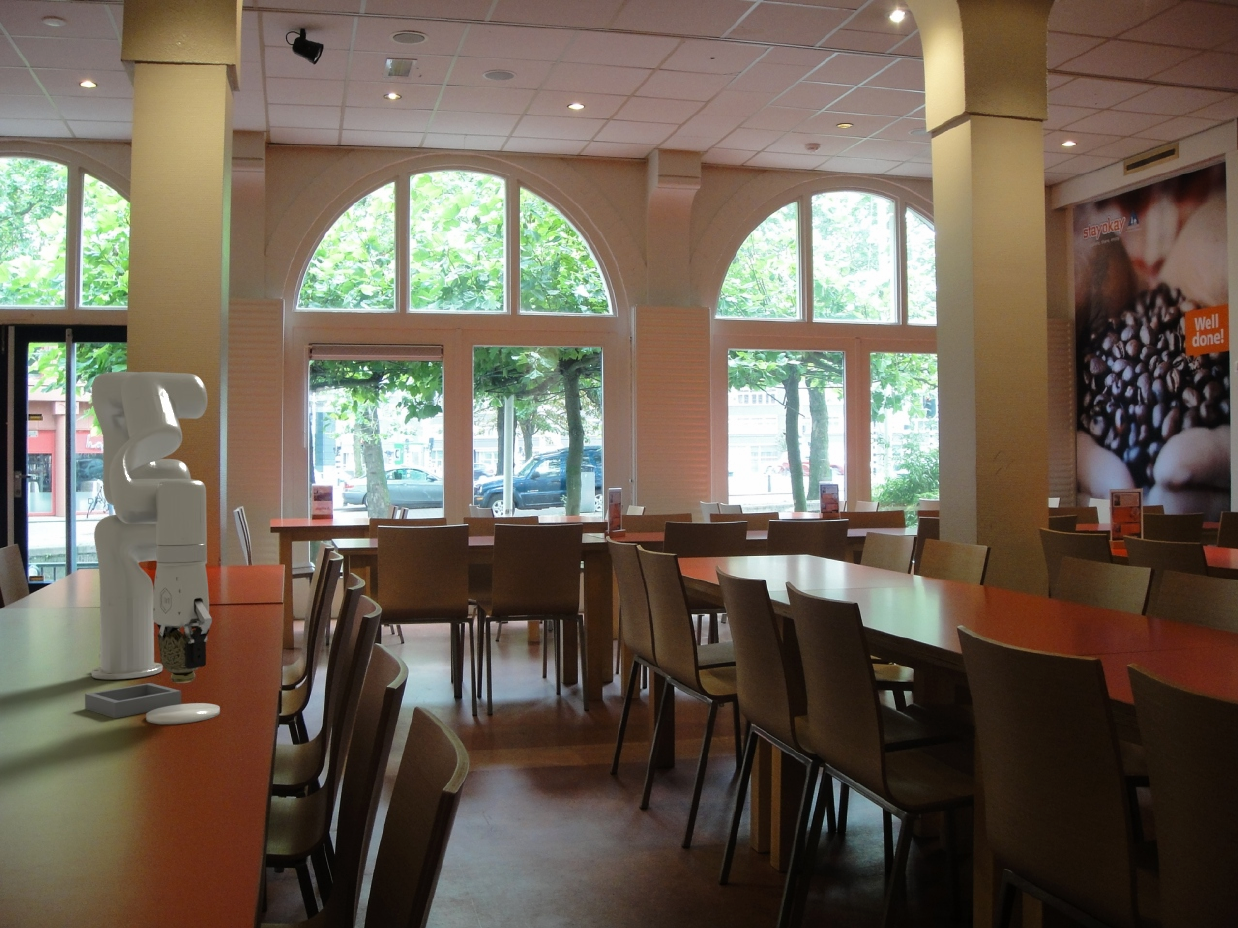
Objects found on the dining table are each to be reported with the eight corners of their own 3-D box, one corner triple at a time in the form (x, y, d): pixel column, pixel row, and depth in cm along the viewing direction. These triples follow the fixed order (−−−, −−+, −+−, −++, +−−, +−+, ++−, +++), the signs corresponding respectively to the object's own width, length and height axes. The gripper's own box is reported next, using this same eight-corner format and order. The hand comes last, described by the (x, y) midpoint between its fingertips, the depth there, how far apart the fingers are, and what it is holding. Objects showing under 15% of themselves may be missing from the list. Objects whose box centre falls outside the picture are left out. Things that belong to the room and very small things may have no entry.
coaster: (133, 717, 164) (133, 712, 164) (198, 704, 173) (198, 700, 173) (167, 727, 157) (167, 722, 157) (232, 714, 166) (232, 709, 166)
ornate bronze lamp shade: (189, 686, 161) (188, 636, 161) (147, 685, 162) (147, 635, 162) (216, 677, 168) (216, 629, 168) (177, 676, 169) (176, 628, 170)
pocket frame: (85, 708, 171) (85, 693, 171) (149, 697, 179) (149, 682, 179) (115, 718, 164) (115, 702, 164) (181, 705, 173) (180, 690, 173)
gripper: (133, 555, 168) (134, 662, 168) (186, 559, 157) (188, 674, 157) (177, 552, 174) (178, 655, 173) (231, 555, 163) (233, 666, 162)
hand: (183, 663), depth 165 cm, fingers closed on ornate bronze lamp shade, 7 cm apart
